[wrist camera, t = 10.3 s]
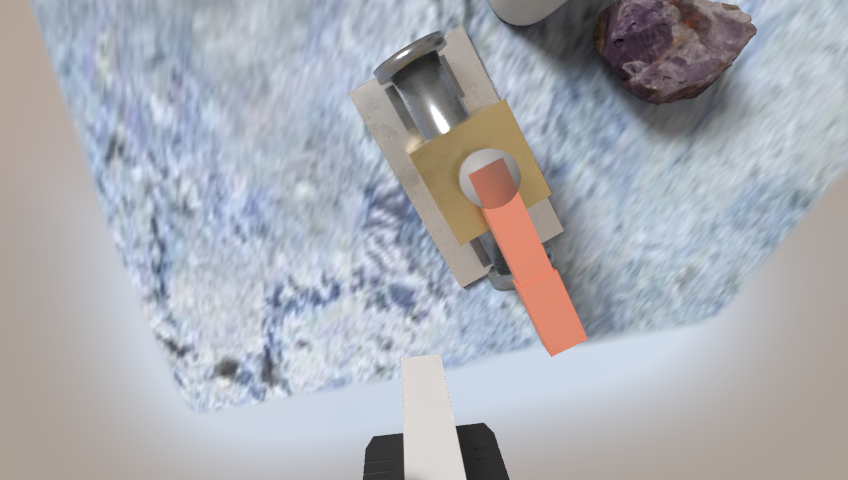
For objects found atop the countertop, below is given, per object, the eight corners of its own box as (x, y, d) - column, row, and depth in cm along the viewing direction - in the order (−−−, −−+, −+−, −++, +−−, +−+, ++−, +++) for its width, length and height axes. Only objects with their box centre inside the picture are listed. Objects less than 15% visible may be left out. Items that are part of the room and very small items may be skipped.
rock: (592, 0, 42) (581, 110, 44) (624, -37, 33) (608, 100, 35) (721, 1, 41) (703, 113, 43) (788, -38, 32) (761, 104, 34)
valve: (460, 27, 40) (488, -18, 28) (560, 228, 45) (619, 262, 33) (349, 94, 41) (330, 77, 29) (460, 284, 46) (482, 336, 34)
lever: (448, 164, 31) (452, 166, 29) (499, 138, 30) (507, 138, 28) (536, 347, 34) (545, 359, 32) (582, 324, 34) (594, 336, 32)
